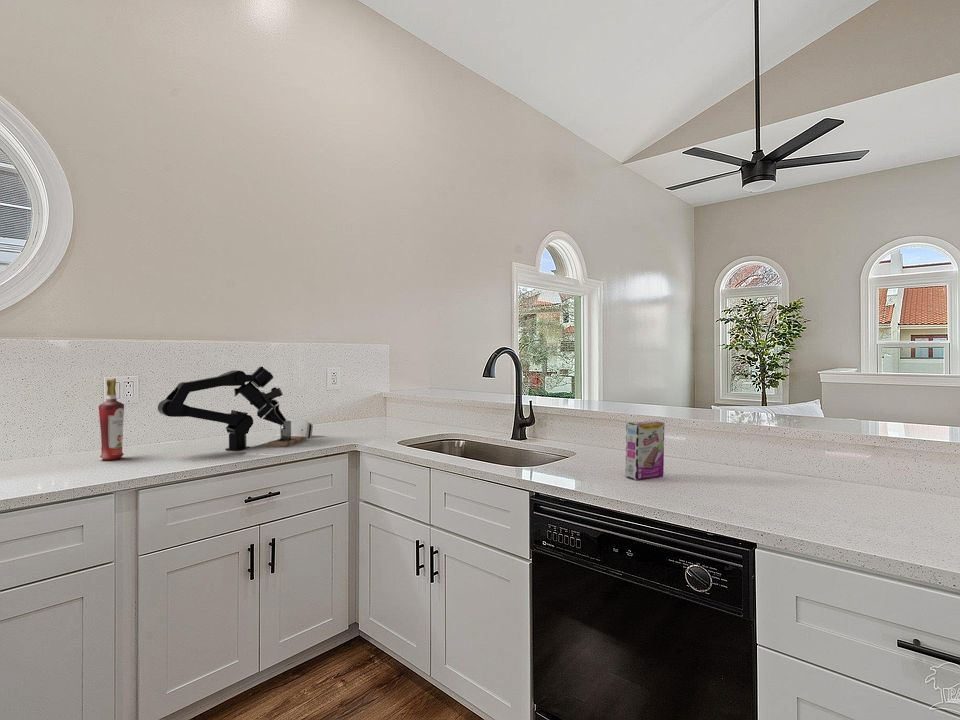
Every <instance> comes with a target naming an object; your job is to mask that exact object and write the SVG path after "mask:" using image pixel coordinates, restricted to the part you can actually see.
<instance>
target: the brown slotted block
mask: <svg viewBox="0 0 960 720" xmlns="http://www.w3.org/2000/svg"><path fill="white" fill-rule="evenodd" d="M306 441H307V439H306V437H303V436H291V441H280V439H277V440H274V439H273V440H270V441H268V442H266V446H267V447H268V448H269V447H270V448H271V447H272V448H274V447H275V448H288V447H291V446H294V445H297V444H300V443H303V442H306Z"/></svg>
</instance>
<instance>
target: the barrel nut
mask: <svg viewBox="0 0 960 720" xmlns="http://www.w3.org/2000/svg"><path fill="white" fill-rule="evenodd" d="M283 423H284V424H283V425H279V426H280V441H291V421H283Z"/></svg>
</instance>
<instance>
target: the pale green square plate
mask: <svg viewBox="0 0 960 720" xmlns="http://www.w3.org/2000/svg"><path fill="white" fill-rule="evenodd" d="M327 443H328V442H325V441H324V442H319V441H316V442H315V441H307V442H305V443H302V444H298V446H299V447H300V446H301V447H306V446H307V447H320V446H322V445H324V444H327Z"/></svg>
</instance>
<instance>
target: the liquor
mask: <svg viewBox="0 0 960 720" xmlns="http://www.w3.org/2000/svg"><path fill="white" fill-rule="evenodd" d="M116 386H117V379H116V378H108V379H106V388H107V390H106V400H105V401H104V402H102V403H100V404H99V405H98V414H99V415H98V418H99V419H98V420H99V431H100V445H101V446H100V448H101V451H100V452H101V454H100V456H99V457H100V458H101V459H103V460H104V461H116V459H117V460H119V459H121V458H122V457H123V456H124V455H125V454H124V453H123V438H124V436H123V435H124V419H125V417H124V416H125V404H124V403H122V402H120V401H117V400H118V399H117V394H116V393H117V392H116Z"/></svg>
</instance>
